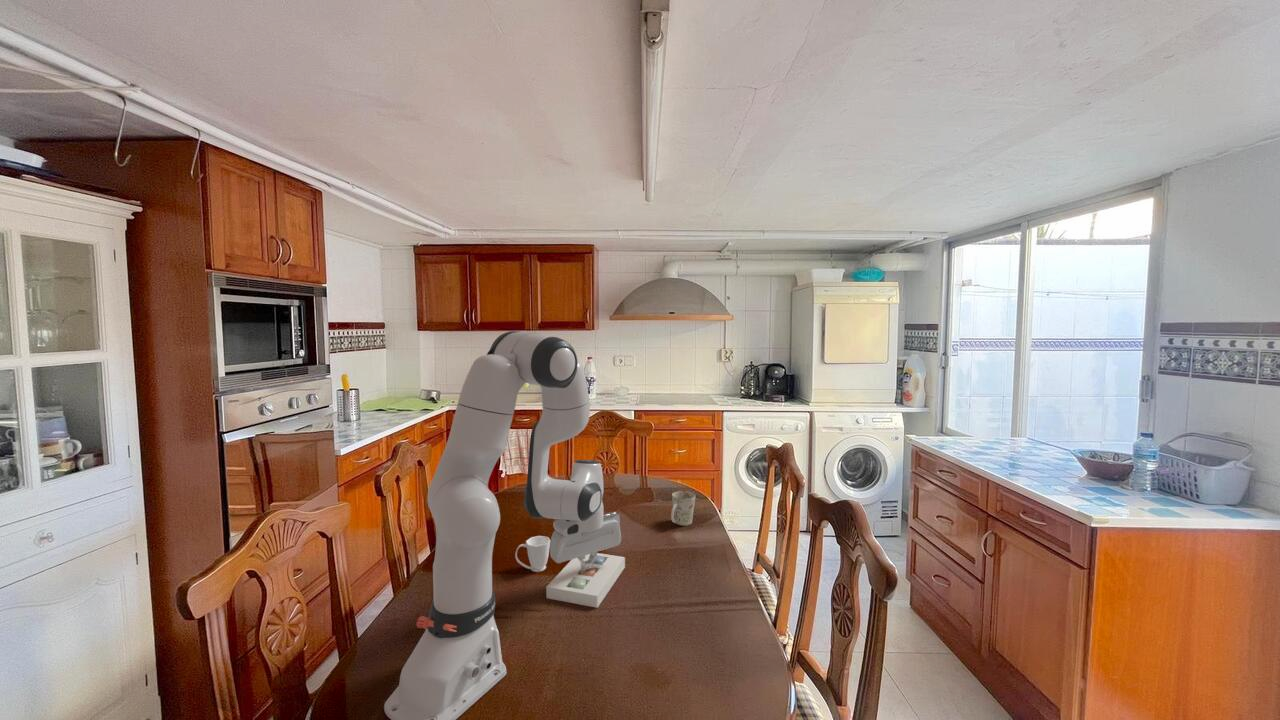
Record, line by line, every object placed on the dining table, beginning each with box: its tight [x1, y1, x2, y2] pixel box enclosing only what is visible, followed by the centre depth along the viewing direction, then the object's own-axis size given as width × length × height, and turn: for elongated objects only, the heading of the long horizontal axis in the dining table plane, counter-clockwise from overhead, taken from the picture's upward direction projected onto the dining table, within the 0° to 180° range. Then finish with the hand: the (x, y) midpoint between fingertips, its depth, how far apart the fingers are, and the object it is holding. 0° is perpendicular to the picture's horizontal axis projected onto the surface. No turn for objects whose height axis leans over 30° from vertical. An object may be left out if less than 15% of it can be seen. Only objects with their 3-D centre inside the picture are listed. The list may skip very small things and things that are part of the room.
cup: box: [514, 535, 551, 573], centre depth 133 cm, size 7×10×8 cm
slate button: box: [593, 556, 604, 565], centre depth 132 cm, size 4×4×3 cm
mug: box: [670, 490, 696, 527], centre depth 164 cm, size 8×13×10 cm, turn 148°
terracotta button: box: [581, 567, 595, 577], centre depth 126 cm, size 4×4×3 cm
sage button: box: [570, 578, 586, 590], centre depth 120 cm, size 4×4×3 cm
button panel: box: [545, 552, 626, 608], centre depth 126 cm, size 21×14×3 cm
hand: (587, 568), depth 126 cm, fingers closed
